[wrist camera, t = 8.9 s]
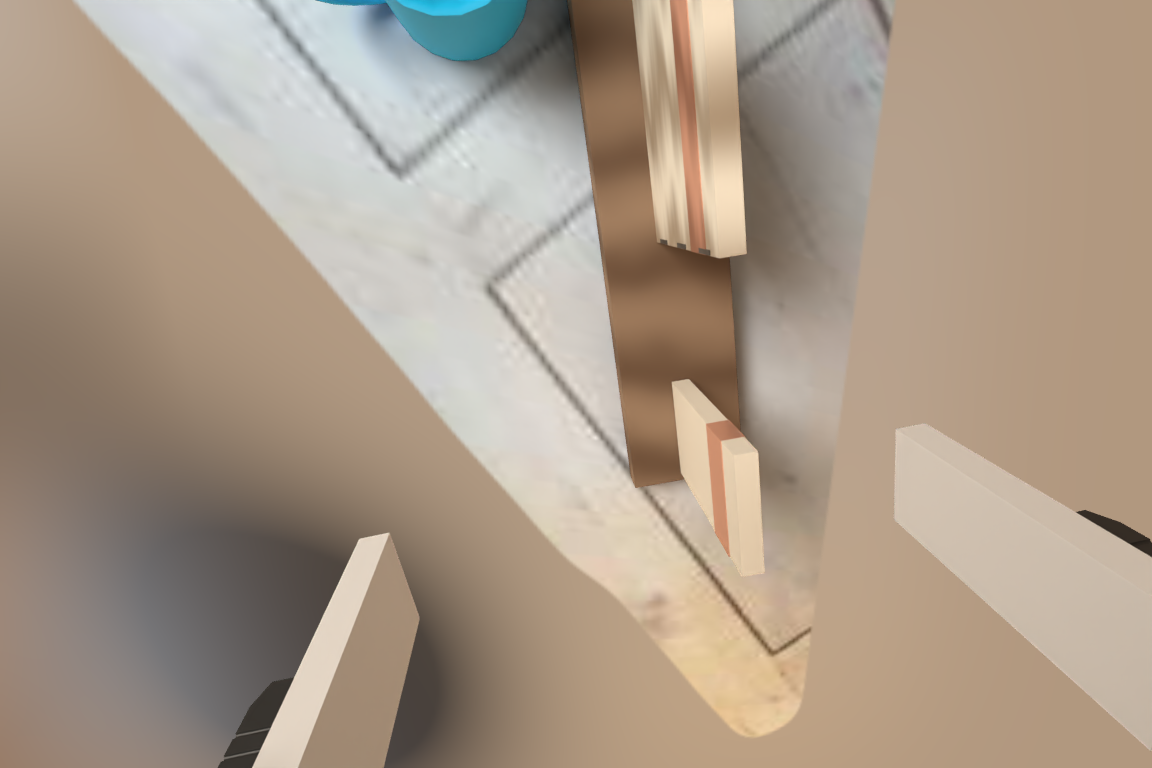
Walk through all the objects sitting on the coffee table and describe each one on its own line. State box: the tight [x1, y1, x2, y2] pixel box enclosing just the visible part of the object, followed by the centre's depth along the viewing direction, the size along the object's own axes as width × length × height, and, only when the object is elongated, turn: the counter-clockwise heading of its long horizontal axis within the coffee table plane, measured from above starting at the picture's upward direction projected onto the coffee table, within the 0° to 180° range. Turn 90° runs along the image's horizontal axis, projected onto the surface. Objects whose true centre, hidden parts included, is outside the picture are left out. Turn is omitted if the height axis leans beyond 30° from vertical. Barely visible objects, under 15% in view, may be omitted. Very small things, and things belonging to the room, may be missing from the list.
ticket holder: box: [567, 0, 747, 488], centre depth 31 cm, size 32×8×14 cm, turn 9°
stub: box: [672, 379, 765, 577], centre depth 34 cm, size 7×1×12 cm, turn 8°
